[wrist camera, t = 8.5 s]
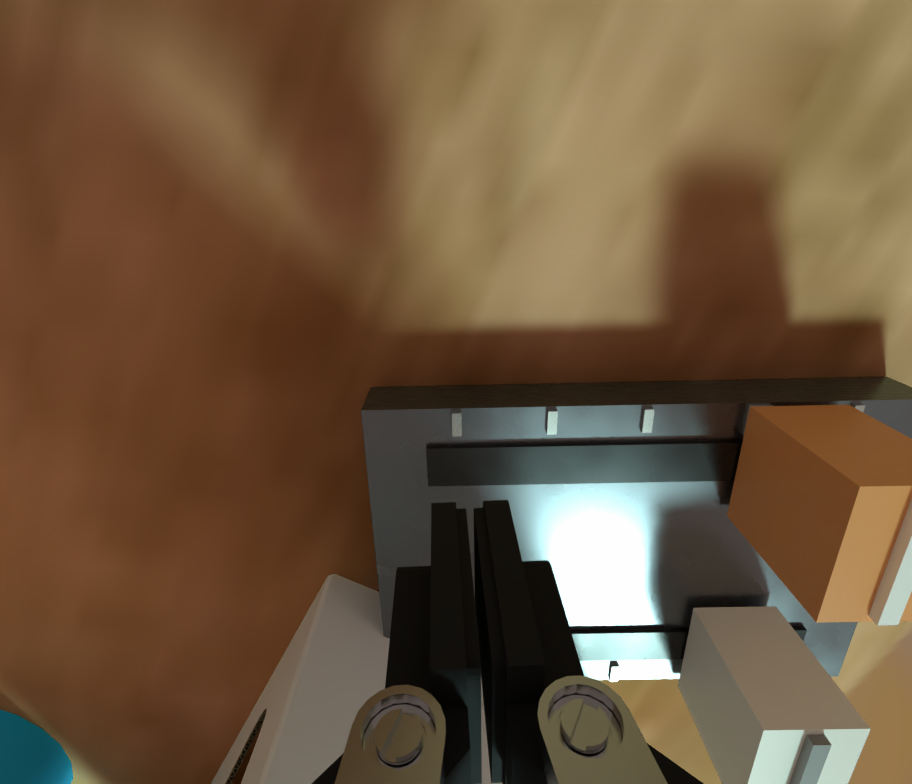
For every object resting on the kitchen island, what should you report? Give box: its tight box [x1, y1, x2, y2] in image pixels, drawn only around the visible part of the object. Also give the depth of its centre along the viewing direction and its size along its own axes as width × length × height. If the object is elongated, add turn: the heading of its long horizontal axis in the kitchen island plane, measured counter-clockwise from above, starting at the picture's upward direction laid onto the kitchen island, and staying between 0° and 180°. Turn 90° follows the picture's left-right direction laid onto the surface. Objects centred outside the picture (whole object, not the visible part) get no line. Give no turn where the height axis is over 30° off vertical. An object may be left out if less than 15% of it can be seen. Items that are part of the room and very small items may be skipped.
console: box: [361, 377, 912, 682], centre depth 19 cm, size 12×18×2 cm, turn 91°
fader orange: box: [727, 405, 912, 625], centre depth 14 cm, size 4×3×5 cm
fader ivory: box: [678, 606, 870, 784], centre depth 17 cm, size 4×3×5 cm
